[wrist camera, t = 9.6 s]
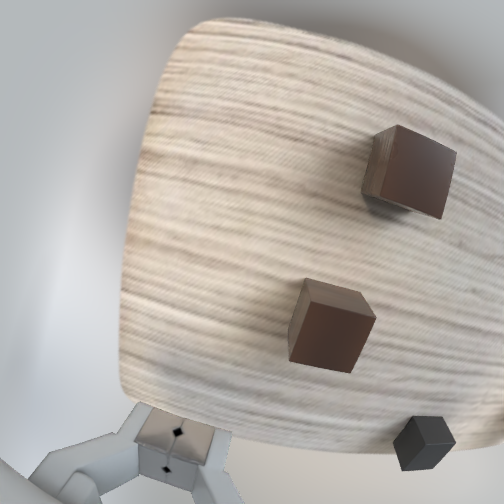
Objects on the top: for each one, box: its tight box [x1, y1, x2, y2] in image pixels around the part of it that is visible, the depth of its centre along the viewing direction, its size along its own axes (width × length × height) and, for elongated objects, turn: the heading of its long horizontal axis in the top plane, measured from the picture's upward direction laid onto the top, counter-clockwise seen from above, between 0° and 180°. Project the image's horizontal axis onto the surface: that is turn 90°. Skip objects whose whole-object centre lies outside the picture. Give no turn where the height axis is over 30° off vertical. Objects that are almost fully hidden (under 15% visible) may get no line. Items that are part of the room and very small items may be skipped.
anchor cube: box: [393, 416, 456, 471], centre depth 20 cm, size 4×4×4 cm
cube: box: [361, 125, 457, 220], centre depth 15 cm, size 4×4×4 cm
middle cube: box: [288, 278, 376, 373], centre depth 18 cm, size 4×4×4 cm
